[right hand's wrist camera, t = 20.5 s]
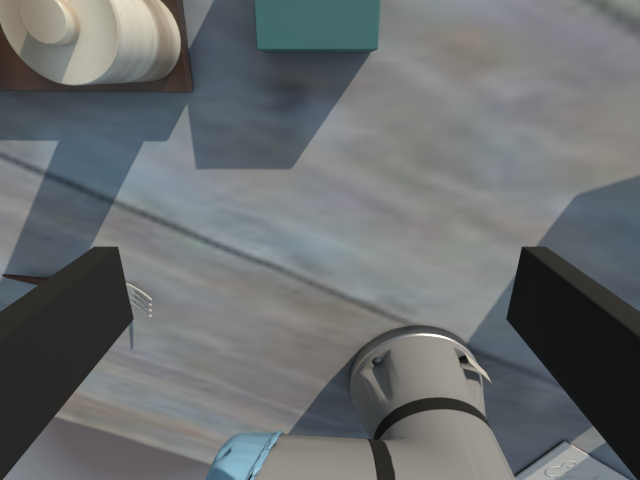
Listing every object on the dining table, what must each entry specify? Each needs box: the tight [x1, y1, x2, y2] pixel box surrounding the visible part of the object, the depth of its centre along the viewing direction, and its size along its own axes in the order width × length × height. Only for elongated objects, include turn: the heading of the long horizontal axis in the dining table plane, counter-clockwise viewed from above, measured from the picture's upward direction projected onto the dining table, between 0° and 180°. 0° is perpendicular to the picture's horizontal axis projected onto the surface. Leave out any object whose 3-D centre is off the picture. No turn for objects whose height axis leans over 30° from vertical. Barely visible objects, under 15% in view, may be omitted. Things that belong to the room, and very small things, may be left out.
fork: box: [2, 274, 152, 317], centre depth 39 cm, size 3×16×2 cm, turn 79°
